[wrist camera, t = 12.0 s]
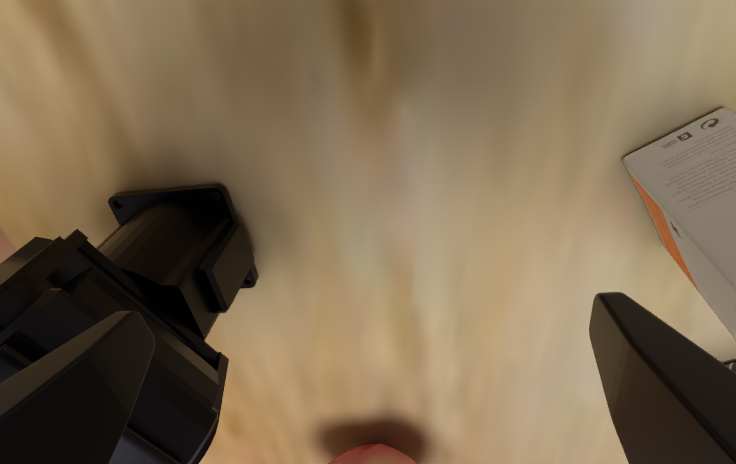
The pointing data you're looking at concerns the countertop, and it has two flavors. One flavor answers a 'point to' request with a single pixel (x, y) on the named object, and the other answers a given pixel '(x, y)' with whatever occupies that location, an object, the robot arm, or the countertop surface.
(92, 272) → the robot arm
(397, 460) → the decorative fruit
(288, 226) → the countertop surface
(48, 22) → the countertop surface
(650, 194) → the skincare box
